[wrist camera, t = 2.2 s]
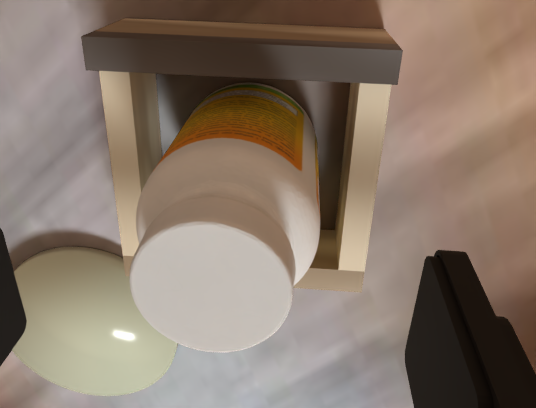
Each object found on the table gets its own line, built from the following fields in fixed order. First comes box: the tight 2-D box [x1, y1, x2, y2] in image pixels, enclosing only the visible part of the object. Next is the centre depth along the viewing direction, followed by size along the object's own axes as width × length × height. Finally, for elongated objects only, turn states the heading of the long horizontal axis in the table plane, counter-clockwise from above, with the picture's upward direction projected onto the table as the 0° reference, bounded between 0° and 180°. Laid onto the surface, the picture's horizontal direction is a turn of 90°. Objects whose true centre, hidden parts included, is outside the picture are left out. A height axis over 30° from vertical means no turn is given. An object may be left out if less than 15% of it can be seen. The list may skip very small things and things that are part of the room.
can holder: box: [81, 18, 403, 292], centre depth 19 cm, size 10×10×4 cm
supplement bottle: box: [129, 82, 320, 352], centre depth 16 cm, size 5×5×10 cm
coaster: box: [12, 247, 178, 396], centre depth 25 cm, size 9×9×1 cm
